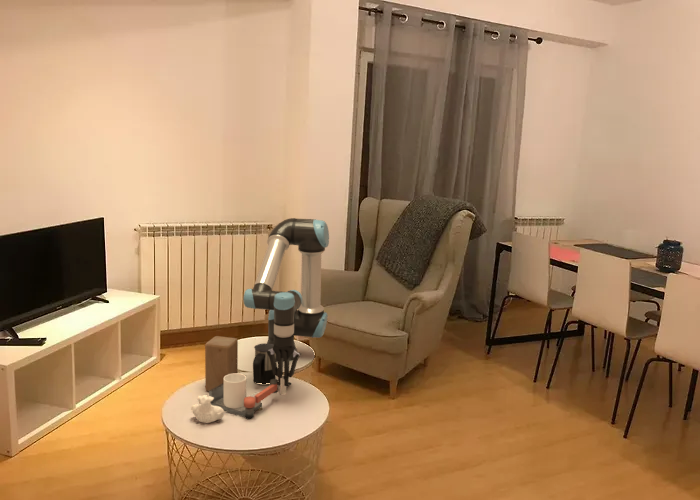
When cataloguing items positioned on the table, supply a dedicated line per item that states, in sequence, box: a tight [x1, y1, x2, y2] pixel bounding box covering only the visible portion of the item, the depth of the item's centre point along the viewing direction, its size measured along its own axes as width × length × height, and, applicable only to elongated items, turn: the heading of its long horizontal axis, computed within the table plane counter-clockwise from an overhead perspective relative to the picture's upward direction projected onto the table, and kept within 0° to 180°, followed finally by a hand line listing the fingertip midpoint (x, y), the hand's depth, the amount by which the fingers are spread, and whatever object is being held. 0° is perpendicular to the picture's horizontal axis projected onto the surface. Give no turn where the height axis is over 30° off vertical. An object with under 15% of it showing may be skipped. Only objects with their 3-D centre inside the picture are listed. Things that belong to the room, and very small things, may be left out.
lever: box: [244, 378, 279, 408], centre depth 216 cm, size 20×4×6 cm, turn 155°
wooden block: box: [204, 335, 239, 392], centre depth 231 cm, size 10×10×20 cm
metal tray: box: [208, 383, 263, 420], centre depth 216 cm, size 10×20×6 cm, turn 63°
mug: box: [224, 373, 247, 408], centre depth 217 cm, size 12×8×10 cm
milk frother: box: [252, 342, 292, 387], centre depth 237 cm, size 14×16×15 cm
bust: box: [190, 394, 225, 424], centre depth 204 cm, size 12×8×11 cm
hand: (283, 393), depth 223 cm, fingers closed
